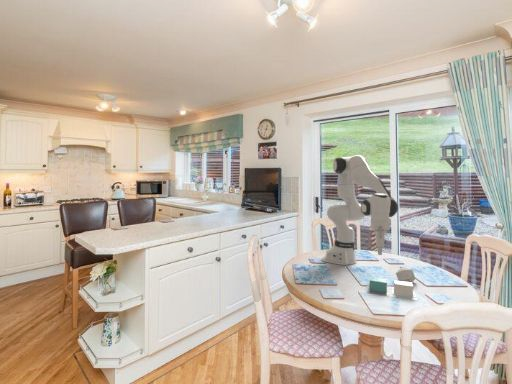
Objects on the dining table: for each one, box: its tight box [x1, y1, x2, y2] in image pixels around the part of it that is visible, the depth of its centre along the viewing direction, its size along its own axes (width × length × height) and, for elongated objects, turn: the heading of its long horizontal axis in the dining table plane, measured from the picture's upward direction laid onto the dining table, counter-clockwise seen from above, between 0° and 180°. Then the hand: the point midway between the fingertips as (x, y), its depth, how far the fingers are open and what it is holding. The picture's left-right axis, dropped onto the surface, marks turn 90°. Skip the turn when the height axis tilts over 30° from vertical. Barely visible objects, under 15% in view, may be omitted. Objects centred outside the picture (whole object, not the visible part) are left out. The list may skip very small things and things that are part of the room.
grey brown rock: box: [395, 266, 416, 283], centre depth 150 cm, size 8×9×10 cm
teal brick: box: [369, 276, 388, 292], centre depth 140 cm, size 8×5×5 cm, turn 66°
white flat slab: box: [366, 282, 418, 301], centre depth 138 cm, size 22×13×1 cm, turn 66°
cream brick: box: [393, 279, 414, 296], centre depth 135 cm, size 8×5×5 cm, turn 66°
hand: (379, 252), depth 139 cm, fingers open, 8 cm apart
